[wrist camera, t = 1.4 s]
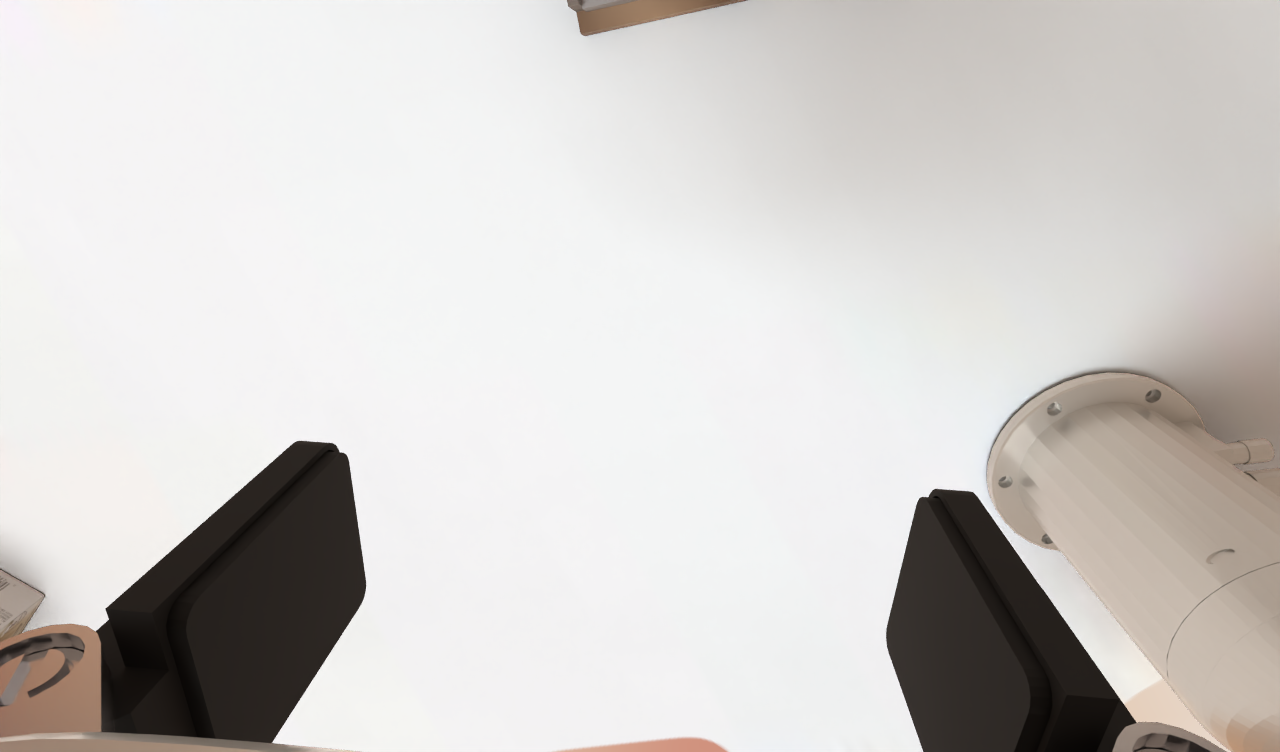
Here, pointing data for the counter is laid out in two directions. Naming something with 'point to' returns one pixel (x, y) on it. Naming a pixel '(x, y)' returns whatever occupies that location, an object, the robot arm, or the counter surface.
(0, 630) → the coffee box
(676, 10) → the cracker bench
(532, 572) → the counter surface
